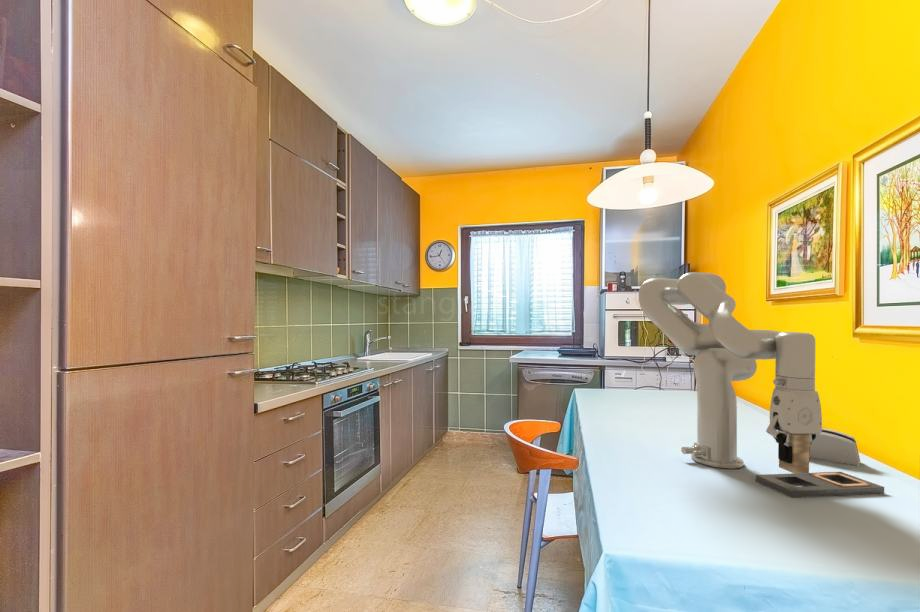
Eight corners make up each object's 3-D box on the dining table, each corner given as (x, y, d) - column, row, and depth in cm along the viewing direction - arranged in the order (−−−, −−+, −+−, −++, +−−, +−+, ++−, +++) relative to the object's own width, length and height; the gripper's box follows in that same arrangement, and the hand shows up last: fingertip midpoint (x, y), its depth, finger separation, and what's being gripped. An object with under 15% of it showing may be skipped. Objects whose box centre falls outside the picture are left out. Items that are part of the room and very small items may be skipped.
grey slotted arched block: (860, 462, 123) (859, 430, 120) (860, 471, 119) (859, 439, 117) (787, 449, 134) (785, 420, 132) (784, 457, 131) (783, 428, 129)
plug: (793, 473, 100) (794, 434, 101) (778, 467, 104) (779, 429, 104) (808, 473, 101) (809, 434, 101) (793, 466, 105) (794, 429, 105)
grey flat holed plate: (792, 497, 96) (792, 490, 97) (755, 481, 106) (755, 474, 106) (884, 493, 100) (884, 486, 100) (840, 477, 110) (840, 470, 110)
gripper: (777, 386, 98) (776, 467, 98) (841, 386, 100) (840, 466, 100) (750, 381, 106) (749, 456, 105) (810, 381, 108) (809, 455, 108)
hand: (793, 460), depth 103 cm, fingers closed on plug, 3 cm apart
